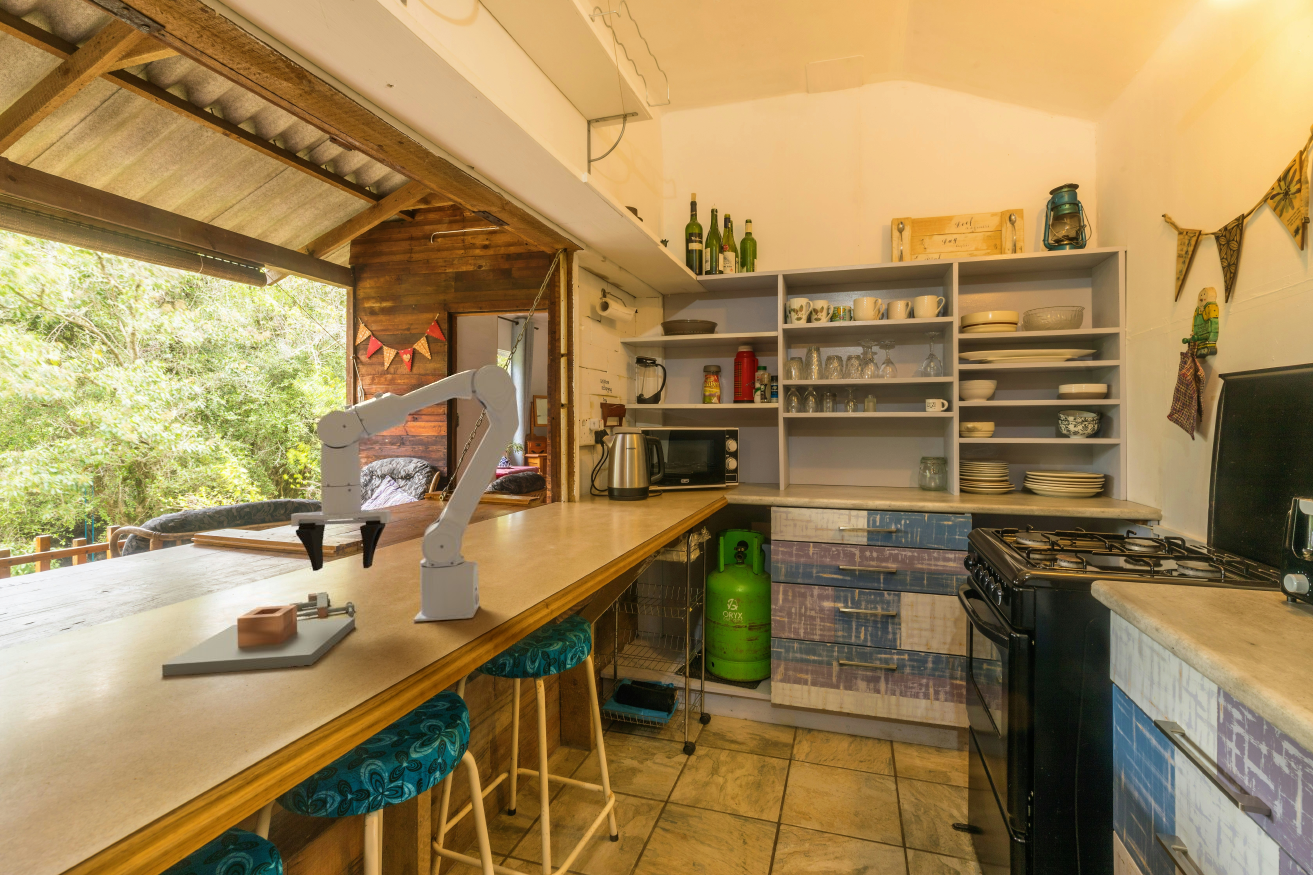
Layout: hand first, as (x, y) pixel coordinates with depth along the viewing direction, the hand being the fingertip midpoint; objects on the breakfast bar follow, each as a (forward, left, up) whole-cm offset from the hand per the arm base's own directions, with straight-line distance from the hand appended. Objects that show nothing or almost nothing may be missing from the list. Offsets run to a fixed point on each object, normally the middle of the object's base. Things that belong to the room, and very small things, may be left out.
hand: (342, 568), depth 94 cm
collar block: (+7, +9, -8) cm, 14 cm away
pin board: (+7, +9, -9) cm, 15 cm away
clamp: (+7, -9, -10) cm, 16 cm away
